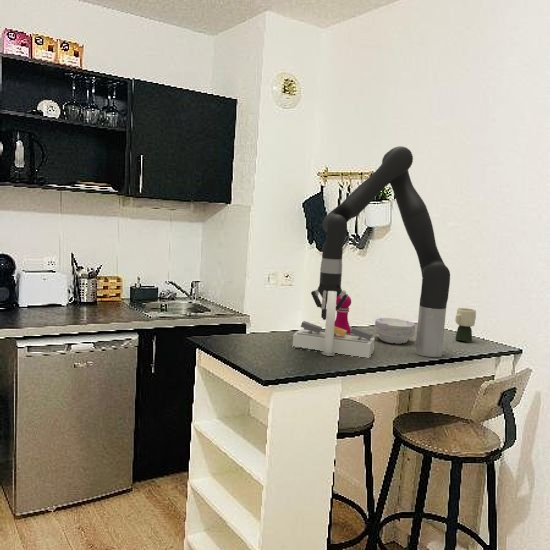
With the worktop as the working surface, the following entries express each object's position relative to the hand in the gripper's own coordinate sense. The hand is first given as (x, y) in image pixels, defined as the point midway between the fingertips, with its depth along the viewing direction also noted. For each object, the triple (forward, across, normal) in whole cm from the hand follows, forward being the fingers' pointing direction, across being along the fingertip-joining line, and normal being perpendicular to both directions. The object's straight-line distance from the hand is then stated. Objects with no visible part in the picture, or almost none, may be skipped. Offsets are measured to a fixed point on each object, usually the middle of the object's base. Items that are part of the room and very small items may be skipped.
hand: (327, 319), depth 198 cm
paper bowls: (+11, -21, -26) cm, 35 cm away
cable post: (+11, -3, +8) cm, 14 cm away
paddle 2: (+4, -12, 0) cm, 13 cm away
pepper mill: (+11, -3, -12) cm, 16 cm away
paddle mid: (+4, -3, 0) cm, 5 cm away
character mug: (+11, -47, -42) cm, 64 cm away
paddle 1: (+4, +6, 0) cm, 7 cm away
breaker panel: (+11, -3, 0) cm, 11 cm away
